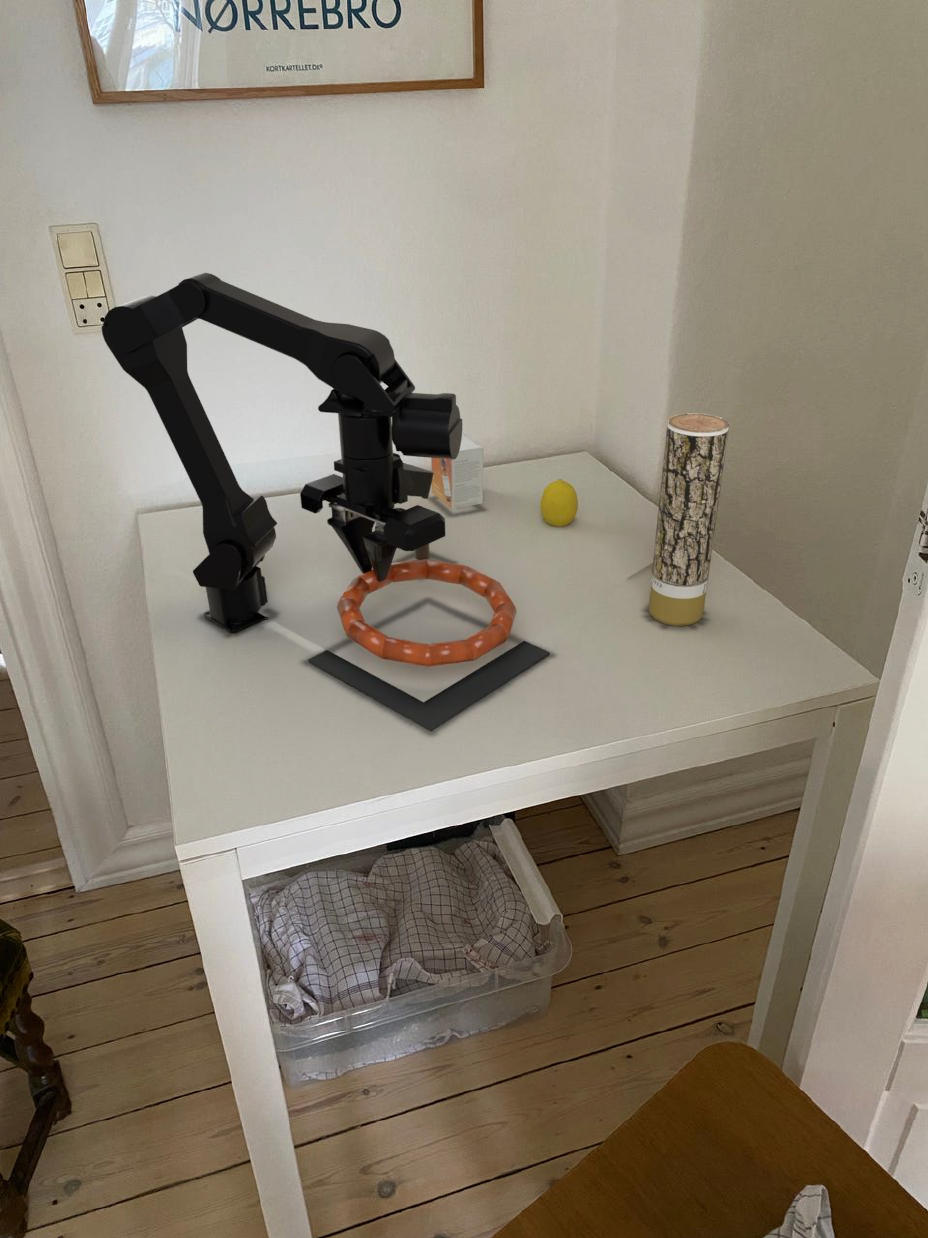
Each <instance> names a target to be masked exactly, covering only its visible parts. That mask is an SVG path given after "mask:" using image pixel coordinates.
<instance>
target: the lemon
mask: <svg viewBox="0 0 928 1238" xmlns="http://www.w3.org/2000/svg"><path fill="white" fill-rule="evenodd" d="M578 501H579V499H578V494H577V492H576V489H575V487H574V486H573V485H572V484H570V482H568V481H565V480H563V479H562V478H558V479H557V480H555V481H552V482H550V483H549V484H548V485H547V486H546V487H545V488H544V490H543V492H542V494H541V498H540V512H541V516H542V518H543V520H544V521H545V522H546V523H547V524H548V525H550V526H552V527H558V528H560V527H561V528H562V527H566V526H568V525H570V524H571V523H572V522H573V521H574V519H575V518H576V516H577V513H578V509H579V508H578V507H579V502H578Z"/></svg>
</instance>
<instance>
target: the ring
mask: <svg viewBox="0 0 928 1238" xmlns="http://www.w3.org/2000/svg"><path fill="white" fill-rule="evenodd" d="M420 580H432V581H437V582H442V583H448V584H453V585H454V584H455V585H460V586H463V587H464V588H466V589H468V590H470V591H472V592H473V593H476V594H477V595H479V596H481V597H483V598H485V599H486V601H487V603H488V605H489V606H490V608H491V609H492V611H493V615H492V618H491V621H490V623H489V625H488V626H487V627H485V628H483V629H481V630H480V631H478V632H476V633H475V634H473V635H471V636H469V637H468V638H465V639H457V640H451V641H443V642H442V641H441V642H436V643H435V642H434V643H424V642H418V641H413V640H407V639H402V638H397V637H390V636H388V635H387V634H385V633H383V632H382V631H380V630H378V629H377V628H376V627H374V626H372V625H370V624H369V623H367V622H365V621H366V620H365V618H364V616H363V614H362V611H361V609H360V608H361V606H362V605H363V603H364V601H365V600H366V598H367V597H368V595H370V594H372V593H373V592H376V591H378V590H380V589H382V588H384V587H387V586H388V585H390V584H393V583H401V582H408V581H409V582H411V581H420ZM336 610H337V613H338V616H339V619H340V622H341V624H342V627H343V630H344V633H345V635H346V637H347V638H348V639H349V640H351V641H353V642H354V643H356V644H357V645H359V646H360V647H362V648H364V649H365V650H366V651H368V652H370V653H372V654H373V655H375V656H376V657H378V658H380V659H382V660H386V661H392V662H396V663H397V662H398V663H403V664H407V665H408V664H409V665H413V666H417V667H419V666H420V667H424V668H432V667H439V666H448V665H455V664H462V663H469V662H474V661H477V659H479V658H481V657H483V656H484V655H486V654H488V653H489V652H491V651H493V650H494V649H496V648H498V647H499V646H501V645H503V644H505V643H506V642H507V640H508V639H509V637H510V634H511V632H512V628H513V625H514V621H515V619H516V616H517V607H516V605H515V604H514V602H513V601H512V599H511V597H510V596H509V594H508V592H507V591H506V589H505V588H504V586H503V585H502V584H501V582H500V581H498V580H496V579H493V578H492V577H490V576H488V575H486V574H485V573H482V572H480V571H478V570H476V569H475V568H472V567H471V566H469V565H466V564H461V563H460V564H459V563H455V562H454V563H453V562H448V561H442V560H435V559H430V558H428V559H423V560H418V559H415V560H414V559H413V560H405V561H394V562H392V563H391V566H390V569H389V572H388V575H387V578H386V579H385V580H383V581H381V582H379V581H377V579H376V576H375V574H374V571H373V569H372V570H371V571H369V572H366V573H364V574H363V573H362V574H359V575H358V576H356V577H354V578H353V579H352V580H351V581H350V583H349V584H348V586H347V588H346V589H345V591H344V592H343V594H342V595H341V597H340V599H339V600H338V601H337V604H336Z"/></svg>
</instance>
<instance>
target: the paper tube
mask: <svg viewBox="0 0 928 1238" xmlns="http://www.w3.org/2000/svg"><path fill="white" fill-rule="evenodd" d="M729 426H730V422H729V421H728V420H727V419H725V418H723V417H720V416H717V415H714V414H708V413H699V412H698V413H697V412H693V413H692V412H690V413H679V414H675V415H672V416H670V417H668V419H667V424H666V432H665V441H664V452H663V461H662V462H663V463H662V471H661V472H662V473H661V479H660V490H659V499H658V501H659V502H658V510H657V511H658V512H657V519H656V520H657V521H656V529H655V530H656V531H655V537H654V538H655V540H654V549H653V557H652V567H651V568H652V569H651V579H650V591H649V598H648V599H649V600H648V612H649V614H650V615H651V617H652V618H653V619H654V620H656V621H658V622H659V623H662V624H664V625H668V626H672V627H686V626H690V625H693V624H696V623H697V622H699V621H700V620H701V619H702V618H703V615H704V610H705V603H706V595H707V590H708V582H709V575H710V568H711V563H712V554H713V547H714V539H715V531H716V525H717V518H718V512H719V511H718V510H719V503H720V496H721V488H722V481H723V473H724V468H725V467H724V466H725V459H726V452H727V445H728V439H729V431H730V427H729Z"/></svg>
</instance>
